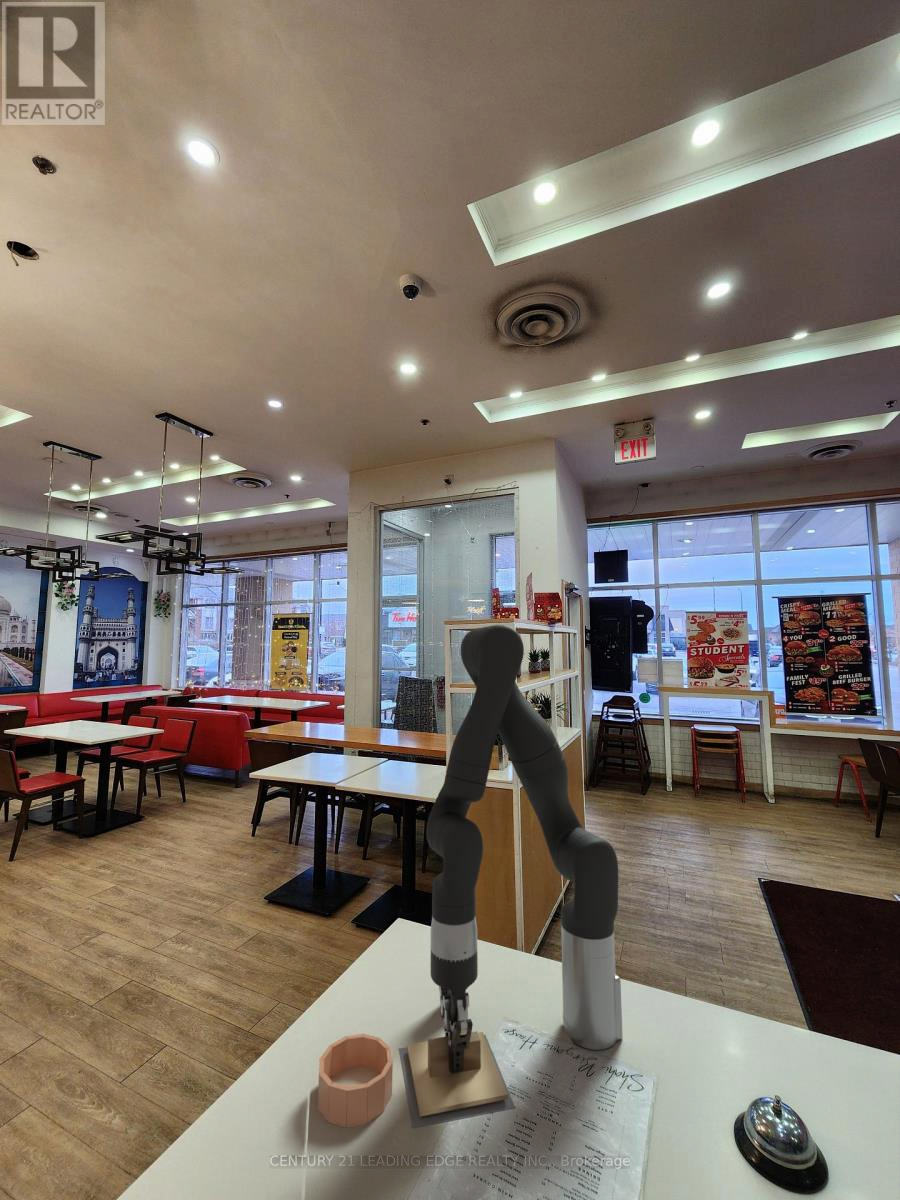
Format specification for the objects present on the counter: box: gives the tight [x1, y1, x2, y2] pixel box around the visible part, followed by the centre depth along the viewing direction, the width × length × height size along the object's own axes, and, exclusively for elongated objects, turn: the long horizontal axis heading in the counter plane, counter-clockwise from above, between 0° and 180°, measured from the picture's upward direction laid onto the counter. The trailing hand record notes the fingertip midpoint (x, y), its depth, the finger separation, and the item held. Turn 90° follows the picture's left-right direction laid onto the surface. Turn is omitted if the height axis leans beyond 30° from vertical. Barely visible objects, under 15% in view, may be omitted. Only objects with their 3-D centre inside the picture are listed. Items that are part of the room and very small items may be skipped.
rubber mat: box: [398, 1034, 516, 1129], centre depth 79 cm, size 15×15×1 cm
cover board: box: [406, 1031, 508, 1117], centre depth 79 cm, size 13×13×5 cm
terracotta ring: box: [317, 1033, 394, 1128], centre depth 76 cm, size 11×11×5 cm
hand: (454, 1063), depth 79 cm, fingers closed on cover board
